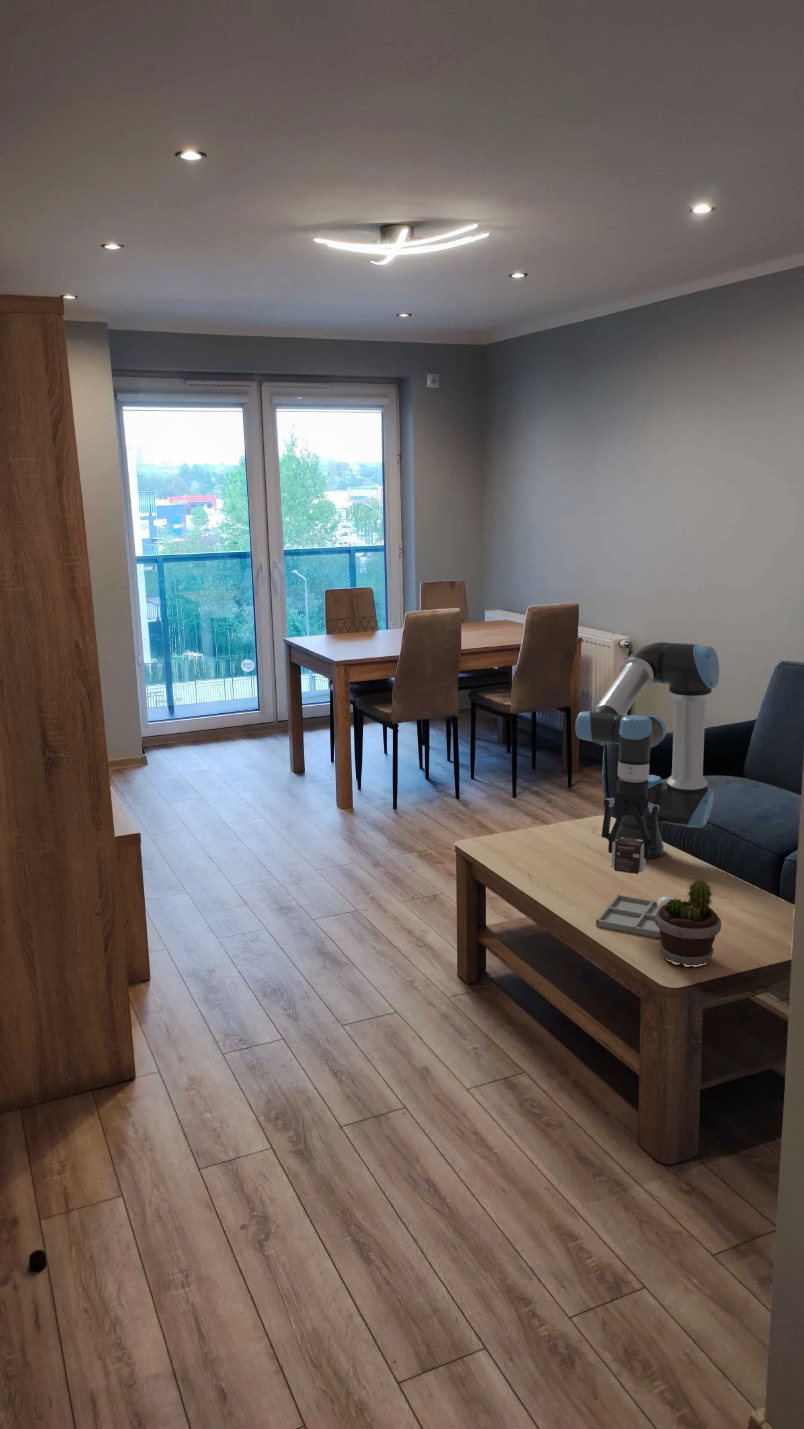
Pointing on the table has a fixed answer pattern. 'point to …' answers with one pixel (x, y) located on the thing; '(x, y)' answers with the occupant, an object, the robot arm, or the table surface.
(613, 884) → the table surface
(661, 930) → the flowerpot
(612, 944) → the table surface
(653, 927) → the egg tray
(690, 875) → the table surface
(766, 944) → the table surface
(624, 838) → the box
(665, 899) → the egg
